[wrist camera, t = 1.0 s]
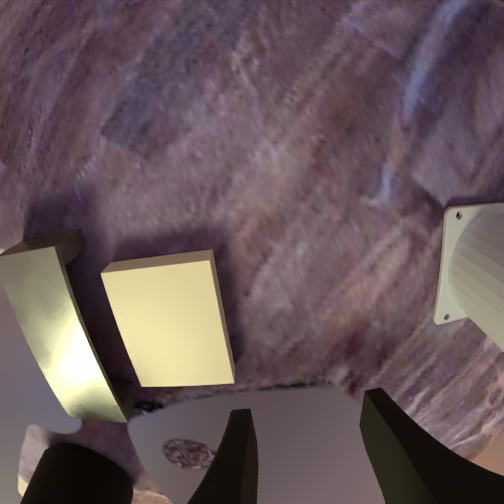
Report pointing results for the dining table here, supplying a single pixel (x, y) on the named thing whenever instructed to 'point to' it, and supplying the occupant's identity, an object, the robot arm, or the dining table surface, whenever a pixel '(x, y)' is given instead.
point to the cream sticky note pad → (171, 318)
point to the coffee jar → (77, 478)
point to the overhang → (61, 328)
